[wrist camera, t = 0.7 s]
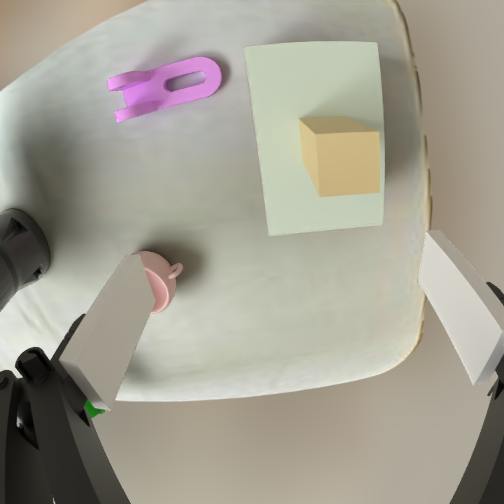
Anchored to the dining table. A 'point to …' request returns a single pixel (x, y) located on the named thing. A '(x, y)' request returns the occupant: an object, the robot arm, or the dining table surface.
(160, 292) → the mug
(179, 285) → the dining table surface
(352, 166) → the lid
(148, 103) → the bracket
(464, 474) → the robot arm
